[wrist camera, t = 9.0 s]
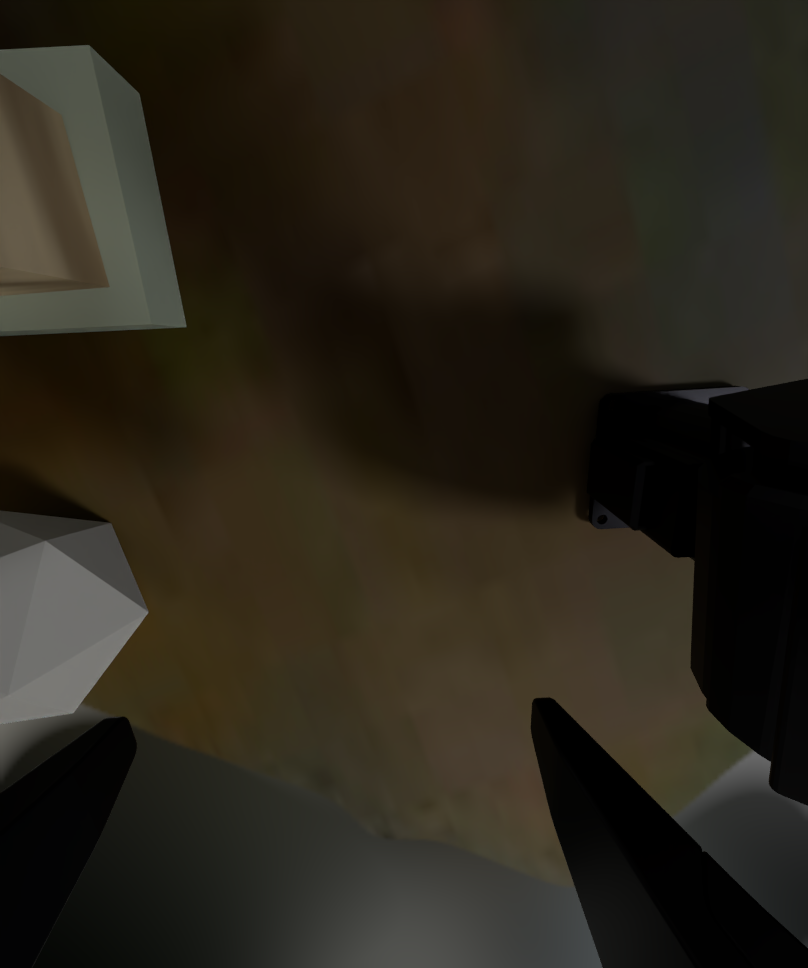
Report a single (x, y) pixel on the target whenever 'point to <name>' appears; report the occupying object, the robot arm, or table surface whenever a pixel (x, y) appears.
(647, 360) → the table surface
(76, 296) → the foundation slab
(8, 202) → the maple cube
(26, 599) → the die
